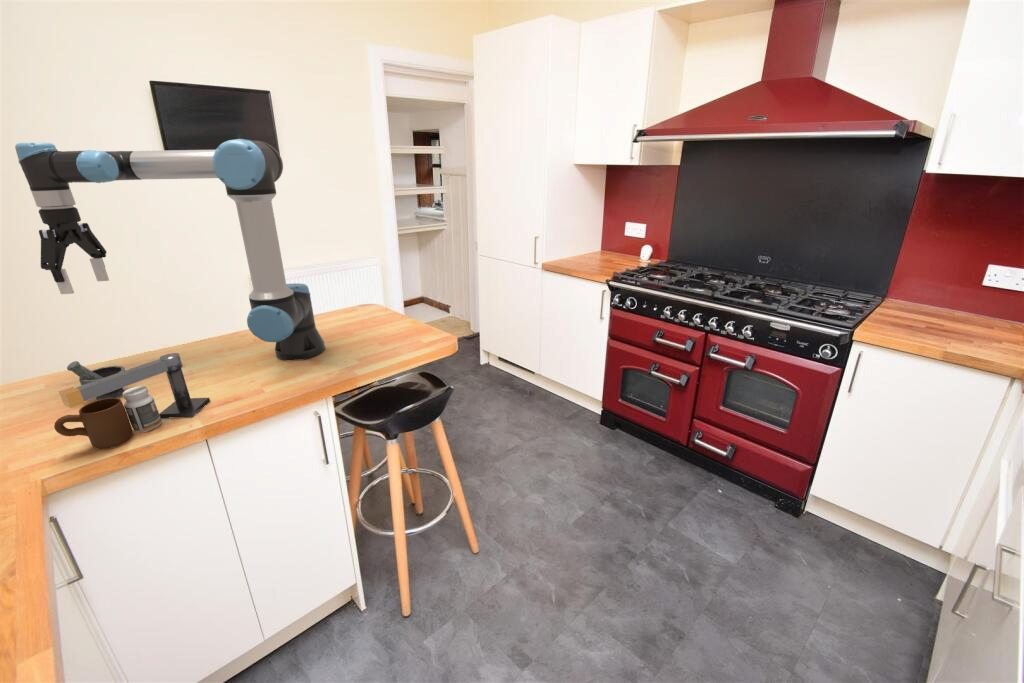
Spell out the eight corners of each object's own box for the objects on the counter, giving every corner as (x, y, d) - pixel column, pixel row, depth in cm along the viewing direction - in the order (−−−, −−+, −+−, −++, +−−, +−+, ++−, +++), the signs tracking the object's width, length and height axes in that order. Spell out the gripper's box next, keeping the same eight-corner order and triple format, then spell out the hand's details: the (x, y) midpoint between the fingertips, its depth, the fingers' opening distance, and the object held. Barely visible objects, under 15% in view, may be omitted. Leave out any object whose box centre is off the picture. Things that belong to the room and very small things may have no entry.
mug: (67, 463, 99) (50, 425, 96) (66, 448, 105) (50, 412, 101) (136, 441, 107) (123, 405, 104) (132, 428, 112) (119, 393, 109)
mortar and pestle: (124, 384, 134) (110, 346, 130) (139, 392, 129) (125, 353, 125) (75, 401, 125) (58, 360, 121) (88, 410, 121) (72, 368, 116)
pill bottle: (164, 418, 116) (152, 383, 113) (158, 430, 111) (146, 393, 108) (137, 423, 114) (124, 387, 111) (130, 435, 109) (116, 398, 106)
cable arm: (176, 363, 118) (173, 352, 117) (186, 366, 117) (182, 354, 115) (62, 404, 99) (57, 391, 98) (72, 408, 97) (66, 395, 96)
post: (210, 401, 124) (199, 362, 120) (193, 417, 117) (180, 375, 112) (179, 402, 124) (166, 363, 119) (160, 418, 116) (146, 376, 112)
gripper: (77, 203, 131) (102, 276, 139) (-3, 213, 108) (34, 300, 116) (105, 202, 132) (129, 275, 140) (33, 212, 109) (66, 299, 117)
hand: (86, 287), depth 128 cm, fingers open, 13 cm apart
